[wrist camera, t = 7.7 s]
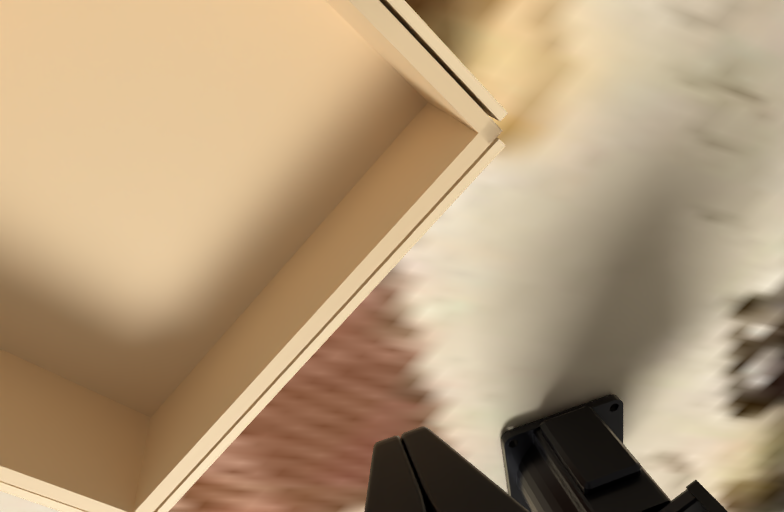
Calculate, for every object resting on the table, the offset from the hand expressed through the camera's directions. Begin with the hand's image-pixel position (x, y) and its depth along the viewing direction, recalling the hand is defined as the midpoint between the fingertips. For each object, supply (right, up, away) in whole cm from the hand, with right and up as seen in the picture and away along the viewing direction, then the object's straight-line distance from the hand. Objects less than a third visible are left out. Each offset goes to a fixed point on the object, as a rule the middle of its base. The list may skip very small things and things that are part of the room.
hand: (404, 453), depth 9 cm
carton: (-9, +6, +10) cm, 14 cm away
